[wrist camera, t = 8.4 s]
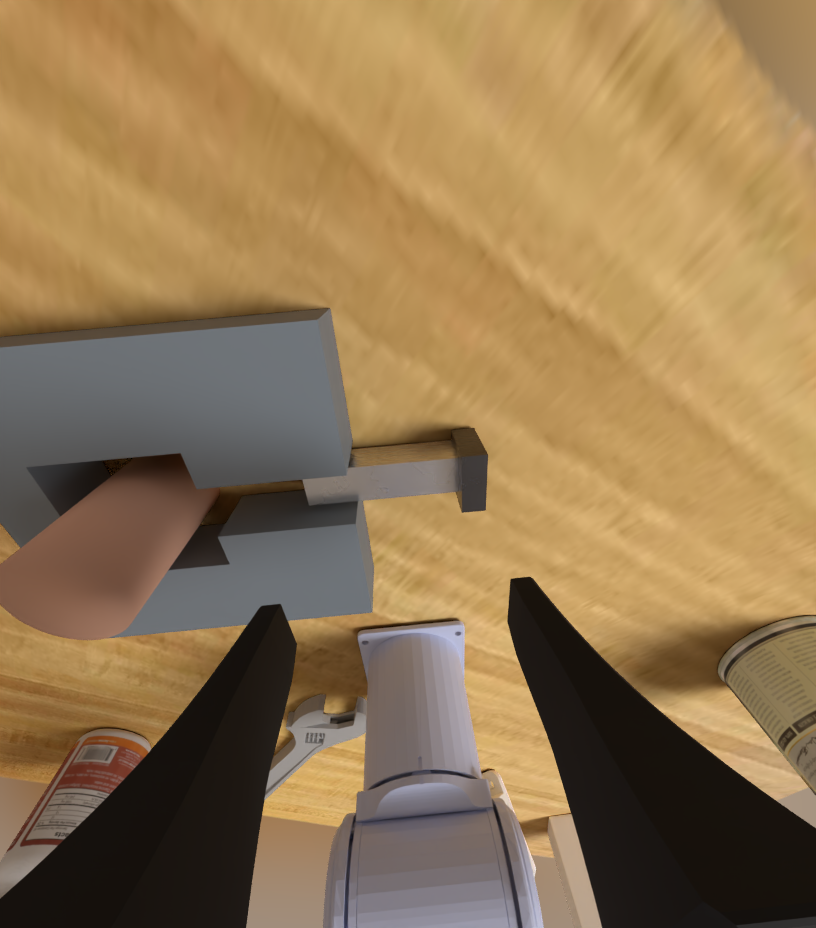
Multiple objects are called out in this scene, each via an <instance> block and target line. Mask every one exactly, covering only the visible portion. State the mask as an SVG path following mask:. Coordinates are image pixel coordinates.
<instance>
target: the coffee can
mask: <svg viewBox="0 0 816 928" xmlns="http://www.w3.org/2000/svg"><path fill="white" fill-rule="evenodd" d="M718 674H719V677H720V678H721V680H722V681H723V682H725V683H726V684H727V686H728V687H729V688H730V689H731V690H732V692H733V693H734V694H735V695H736V697H737V698H738V699H739V700H740V702H741V703H742V704H743V705H744V707H745V708H746V709H747V710H748V712H749V713H750V714H751V715H752V717H753V718H754V719H755V720H756V722H757V723H758V724H759V725H760V727H761V728H762V729H763V730H764V732H765V733H766V734H767V736H768V737H769V738H770V739H771V741H772V742H773V743H774V744H775V746H776V747H777V748H778V749H779V751H780V752H781V753H782V754H783V756H784V757H785V758H786V759H787V761H788V762H789V763H790V764H791V766H792V767H793V768H794V769H795V771H796V772H797V773H798V774H799V775H800V777H801V778H802V779H803V780H804V782H805V783H806V784H807V785H808V787H809V788H810V789H811V790H812V791H813V793H814V794H815V795H816V616H799V617H794V618H789V619H785V620H781V621H778V622H775V623H773V624H770V625H767V626H765V627H763V628H760V629H758V630H756V631H754V632H752V633H750V634H749V635H747V636H746V637H744V638H743V639H741V640H739V641H738V642H737V643H735V644H734V645H733V646H732V647H731V648H730V649H729V650H728V651H727V652H726V653H725V655H724V656H723V657H722V659H721V660H720V664H719V666H718Z"/></svg>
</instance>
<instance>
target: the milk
mask: <svg viewBox="0 0 816 928" xmlns="http://www.w3.org/2000/svg"><path fill="white" fill-rule="evenodd" d="M547 832H548V836H549V840H550V843H551V847H552V850H553V854H554V857H555V861H556V864H557V868H558V871H559V875H560V878H561V882H562V885H563V889H564V893H565V896H566V899H567V903H568V907H569V910H570V914H571V917H572V920H573V924H574V928H602V925H601V921H600V918H599V914H598V910H597V906H596V902H595V898H594V894H593V890H592V887H591V883H590V879H589V876H588V872H587V868H586V865H585V861H584V857H583V854H582V850H581V846H580V843H579V839H578V835H577V832H576V828H575V825H574V821H573V818H572V814H565V815H558V816H550V817H549V821H548V831H547Z"/></svg>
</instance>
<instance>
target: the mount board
mask: <svg viewBox="0 0 816 928" xmlns="http://www.w3.org/2000/svg"><path fill="white" fill-rule="evenodd" d="M352 442H353V440H352V434H351V429H350V423H349V417H348V411H347V405H346V399H345V393H344V387H343V381H342V375H341V369H340V363H339V357H338V351H337V345H336V339H335V333H334V328H333V322H332V316H331V310H330V308H327V309H315V310H304V311H292V312H281V313H269V314H258V315H247V316H235V317H224V318H212V319H201V320H189V321H178V322H166V323H155V324H143V325H132V326H120V327H109V328H97V329H86V330H74V331H63V332H51V333H40V334H28V335H17V336H5V337H0V523H1V524H2V526H3V527H4V528H5V529H6V531H7V532H8V533H9V534H10V535H11V537H12V538H13V539H14V540H15V542H16V543H17V544H18V545H19V546H20V548H22V547H23V546H24V545H25V544H27V543H28V542H29V541H30V540H32V539H33V538H34V537H35V536H37V535H38V534H39V533H40V532H42V531H43V530H44V529H46V528H47V527H48V526H49V525H51V524H52V523H53V522H54V521H56V520H57V519H58V518H59V517H61V516H62V515H63V514H64V513H66V512H67V511H68V510H69V509H71V508H72V507H73V506H74V505H76V504H77V503H78V502H79V501H81V500H82V499H83V498H85V497H86V496H87V495H88V494H90V493H91V492H92V491H93V490H95V489H96V488H97V487H98V486H100V485H101V484H102V483H103V482H105V481H106V480H107V479H108V478H110V477H111V476H110V474H109V472H108V470H107V469H106V467H105V465H104V463H103V462H102V460H111V459H122V458H133V457H144V456H155V455H166V454H177V453H181V455H182V457H183V460H184V462H185V464H186V466H187V469H188V471H189V473H190V475H191V478H192V480H193V482H194V484H195V487H196V489H206V488H217V487H227V486H238V485H249V484H260V483H270V482H281V481H292V480H303V479H314V478H324V477H335V476H346V475H347V471H348V465H349V459H350V454H351V448H352ZM373 579H374V565H373V559H372V553H371V547H370V541H369V535H368V530H367V524H366V518H365V512H364V506H363V501H352V502H342V503H331V504H320V505H310V506H309V503H308V499H307V496H306V492H305V490H300V491H289V492H278V493H267V494H257V495H246V496H242V497H241V499H240V501H239V502H238V504H237V506H236V507H235V509H234V511H233V512H232V514H231V516H230V517H229V519H228V521H227V522H226V524H217V525H206V526H199V527H198V528H197V530H196V531H195V532H194V534H193V535H192V537H191V538H190V540H189V541H188V543H187V544H186V545H185V547H184V548H183V550H182V551H181V553H180V554H179V555H178V557H177V558H176V560H175V561H174V563H173V564H172V566H171V567H170V568H169V570H168V571H167V573H166V574H165V576H164V577H163V578H162V580H161V581H160V583H159V584H158V586H157V587H156V589H155V590H154V591H153V593H152V594H151V596H150V597H149V599H148V600H147V601H146V603H145V604H144V606H143V607H142V609H141V610H140V612H139V613H138V614H137V616H136V617H135V619H134V620H133V622H132V623H131V624H130V626H129V627H128V628H127V629H126V630H125V631H123V632H121V633H120V634H118V635H115V636H112V637H109V638H115V637H125V636H136V635H146V634H156V633H166V632H177V631H187V630H197V629H207V628H218V627H228V626H238V625H248V623H249V622H250V621H251V619H252V618H253V616H254V615H255V613H256V612H257V610H258V609H259V608H260V607H261V606H264V605H273V604H281V606H282V608H283V611H284V613H285V616H286V618H287V621H289V620H300V619H310V618H320V617H330V616H341V615H351V614H361V613H371V612H372V608H373Z"/></svg>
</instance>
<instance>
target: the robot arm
mask: <svg viewBox="0 0 816 928" xmlns="http://www.w3.org/2000/svg"><path fill="white" fill-rule="evenodd" d="M508 625H509V629H510V633H511V636H512V640H513V644H514V647H515V651H516V655H517V657H518V660H519V663H520V665H521V668H522V671H523V673H524V676H525V679H526V681H527V684H528V686H529V689H530V692H531V694H532V697H533V699H534V702H535V705H536V707H537V710H538V712H539V715H540V718H541V720H542V723H543V725H544V728H545V731H546V733H547V736H548V739H549V742H550V744H551V747H552V750H553V753H554V756H555V760H556V763H557V766H558V770H559V773H560V777H561V780H562V783H563V787H564V790H565V793H566V797H567V800H568V804H569V807H570V811H571V814H572V818H573V821H574V825H575V828H576V832H577V835H578V839H579V843H580V846H581V850H582V854H583V857H584V861H585V865H586V868H587V872H588V876H589V879H590V883H591V887H592V890H593V894H594V898H595V902H596V906H597V910H598V914H599V918H600V921H601V925H602V928H816V828H815V827H813V826H812V825H810V824H809V823H807V822H806V821H804V820H803V819H801V818H800V817H798V816H797V815H796V814H794V813H793V812H791V811H790V810H788V809H787V808H786V807H784V806H782V805H781V804H780V803H778V802H777V801H776V800H774V799H773V798H771V797H770V796H769V795H767V794H766V793H764V792H763V791H762V790H760V789H759V788H757V787H756V786H755V785H753V784H752V783H751V782H749V781H748V780H747V779H745V778H744V777H743V776H741V775H740V774H739V773H737V772H736V771H735V770H733V769H732V768H730V767H729V766H728V765H726V764H725V763H724V762H723V761H721V760H720V759H719V758H717V757H716V756H715V755H714V754H712V753H711V752H710V751H709V750H707V749H706V748H705V747H704V746H702V745H701V744H700V743H698V742H697V741H696V740H695V739H693V738H692V737H691V736H690V735H688V734H687V733H686V732H685V731H683V730H682V729H681V728H680V727H678V726H677V725H676V724H675V723H673V722H672V721H671V720H670V719H669V718H668V717H666V716H665V715H664V714H663V713H662V712H661V711H659V710H658V709H657V708H656V707H655V706H654V705H652V704H651V703H650V702H649V701H648V700H647V699H646V698H645V697H643V696H642V695H641V694H640V693H639V692H638V691H637V690H636V689H634V688H633V687H632V686H631V685H630V684H629V683H628V682H627V681H626V680H625V679H624V678H623V677H622V676H621V675H620V674H619V673H617V672H616V671H615V670H614V669H613V668H612V667H611V666H610V665H609V664H608V663H607V662H606V661H605V660H604V659H603V658H602V657H601V656H600V655H599V654H598V653H597V652H596V651H595V650H594V648H593V647H592V646H591V645H590V644H589V643H588V642H587V641H586V640H585V639H584V638H583V637H582V636H581V635H580V634H579V632H578V631H577V630H576V629H575V628H574V627H573V626H572V625H571V624H570V623H569V621H568V620H567V619H566V618H565V617H564V616H563V615H562V613H561V612H560V611H559V610H558V609H557V608H556V606H555V605H554V604H553V603H552V602H551V601H550V599H549V598H548V597H547V596H546V594H545V593H544V592H543V591H542V589H541V588H540V587H539V586H538V584H537V583H536V582H535V581H534V579H533V578H531V577H523V578H514V579H511V582H510V595H509V608H508ZM464 631H465V628H464V624H463V622H461V621H450V622H440V623H429V624H419V625H409V626H399V627H389V628H378V629H368V630H361V631H360V632H359V633H358V638H357V639H358V643H359V647H360V652H361V656H362V660H363V665H364V669H365V673H366V678H367V682H368V690H367V715H366V740H365V765H364V791H361V792H358V793H357V804H356V813H349V814H347V815H346V816H345V818H344V819H343V822H342V824H341V825H340V826H339V828H338V829H337V831H336V833H335V836H334V838H333V842H332V846H331V851H330V857H329V864H328V871H327V880H326V890H325V902H324V919H323V928H544V926H543V920H542V914H541V909H540V904H539V898H538V893H537V888H536V884H535V879H534V875H533V870H532V866H531V862H530V858H529V854H528V851H527V847H526V843H525V840H524V837H523V833H522V830H521V827H520V824H519V822H518V819H517V817H516V815H515V813H514V812H513V811H512V810H511V809H510V808H509V807H508V806H507V805H506V803H505V801H504V800H503V799H502V798H493V799H492V798H491V793H490V788H489V783H488V780H487V779H482V774H481V769H480V763H479V758H478V753H477V747H476V742H475V737H474V732H473V726H472V721H471V716H470V710H469V705H468V700H467V694H466V689H465V684H464ZM296 647H297V643H296V641H295V638H294V636H293V633H292V631H291V628H290V626H289V623H288V621H287V618H286V616H285V613H284V611H283V608H282V606H281V604H273V605H264V606H261V607H260V608H259V609H258V610H257V612H256V613H255V615H254V616H253V618H252V619H251V621H250V622H249V623H248V625H247V626H246V628H245V629H244V631H243V632H242V634H241V635H240V636H239V638H238V639H237V641H236V642H235V644H234V645H233V646H232V648H231V649H230V651H229V652H228V654H227V655H226V656H225V658H224V659H223V660H222V662H221V663H220V665H219V666H218V667H217V669H216V670H215V671H214V673H213V674H212V675H211V677H210V678H209V680H208V681H207V682H206V683H205V685H204V686H203V687H202V689H201V690H200V691H199V692H198V694H197V695H196V696H195V698H194V699H193V700H192V701H191V703H190V704H189V705H188V706H187V708H186V709H185V710H184V712H183V713H182V714H181V715H180V716H179V718H178V719H177V720H176V721H175V722H174V724H173V725H172V726H171V727H170V728H169V730H168V731H167V732H166V733H165V734H164V736H163V737H162V738H161V739H160V740H159V741H158V742H157V744H156V745H155V746H154V747H153V748H152V749H151V750H150V751H149V753H148V754H147V755H146V756H145V757H144V758H143V759H142V760H141V761H140V763H139V764H138V765H137V766H136V767H135V768H134V769H133V770H132V771H131V772H130V773H129V774H128V775H127V777H126V778H125V779H124V780H123V781H122V782H121V783H120V784H119V785H118V786H117V787H116V788H115V789H114V790H113V791H112V792H111V793H110V795H109V796H108V797H107V798H106V799H105V800H104V801H103V802H102V803H101V804H100V805H99V806H98V807H97V808H96V809H95V810H94V811H93V812H92V813H91V814H90V815H89V816H88V817H87V818H86V819H85V820H84V821H82V822H81V823H80V824H79V825H78V826H77V827H76V828H75V829H74V830H73V831H72V832H71V833H70V834H69V835H68V836H67V837H66V838H65V839H64V840H63V841H62V842H61V843H60V844H59V845H58V846H57V847H56V848H55V849H54V850H53V851H52V852H51V853H50V854H49V855H47V856H46V857H45V858H44V859H43V860H42V861H41V862H40V863H39V864H38V865H37V866H36V867H35V868H34V869H33V870H31V871H30V872H29V873H28V874H27V875H26V876H25V877H24V878H23V879H21V880H20V881H19V882H18V883H17V884H16V885H15V886H14V887H12V888H11V889H10V890H9V891H8V892H7V893H6V894H5V895H3V896H2V897H1V898H0V928H246V924H247V916H248V907H249V900H250V893H251V885H252V877H253V870H254V863H255V856H256V850H257V843H258V836H259V830H260V823H261V817H262V811H263V805H264V799H265V793H266V787H267V782H268V777H269V773H270V768H271V763H272V759H273V755H274V751H275V747H276V743H277V739H278V735H279V731H280V727H281V723H282V719H283V715H284V711H285V707H286V703H287V699H288V695H289V691H290V687H291V682H292V677H293V670H294V663H295V655H296Z"/></svg>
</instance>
